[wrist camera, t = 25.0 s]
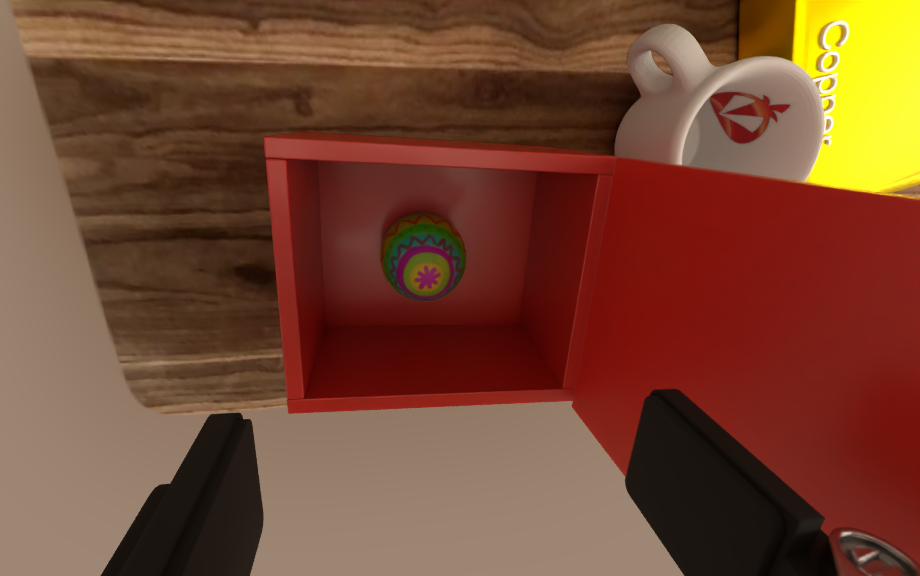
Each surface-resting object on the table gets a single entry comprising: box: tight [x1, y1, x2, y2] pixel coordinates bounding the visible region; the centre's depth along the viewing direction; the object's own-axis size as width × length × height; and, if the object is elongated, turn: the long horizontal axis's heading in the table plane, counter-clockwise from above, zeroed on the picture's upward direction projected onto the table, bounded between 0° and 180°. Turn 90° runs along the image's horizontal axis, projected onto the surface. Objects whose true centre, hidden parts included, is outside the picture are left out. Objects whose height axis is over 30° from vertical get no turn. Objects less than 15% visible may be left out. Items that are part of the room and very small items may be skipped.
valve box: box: [263, 132, 618, 414], centre depth 24 cm, size 15×13×9 cm
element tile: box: [738, 0, 920, 193], centre depth 26 cm, size 15×15×5 cm
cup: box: [615, 24, 825, 182], centre depth 24 cm, size 11×8×8 cm
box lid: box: [572, 157, 920, 565], centre depth 14 cm, size 16×13×5 cm
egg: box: [380, 212, 466, 301], centre depth 24 cm, size 5×5×6 cm
